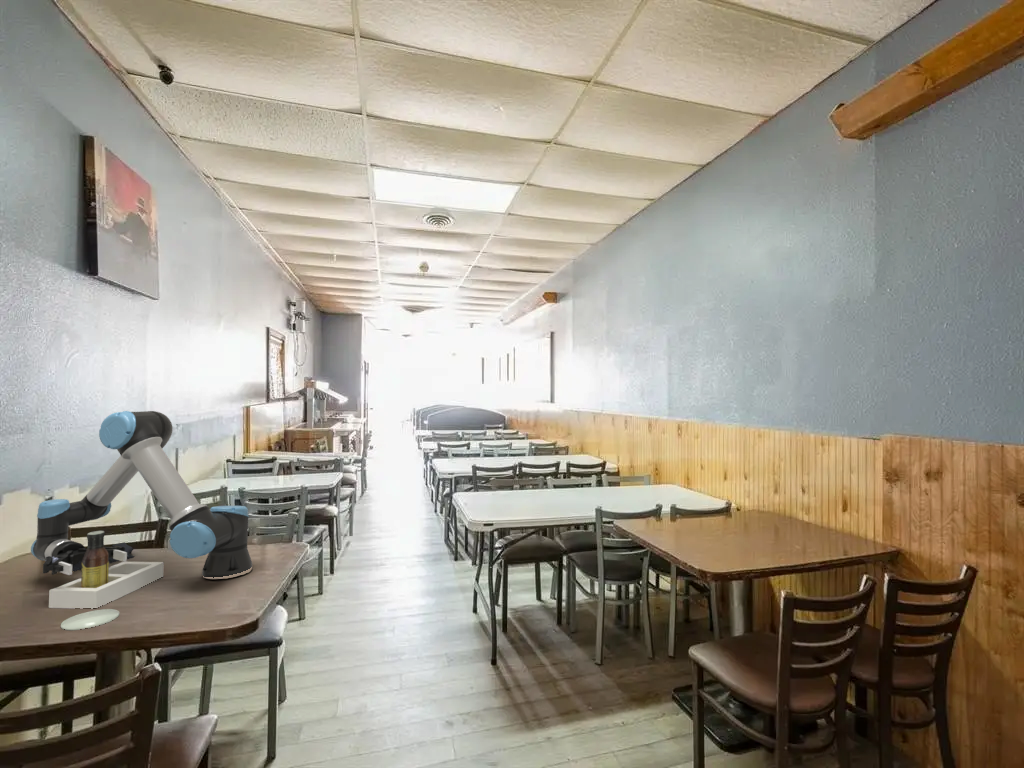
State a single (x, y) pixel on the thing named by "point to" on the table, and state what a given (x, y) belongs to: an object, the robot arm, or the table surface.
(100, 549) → the sauce bottle
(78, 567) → the dark slate chunk
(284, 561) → the table surface
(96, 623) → the coaster
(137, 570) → the condiment caddy
